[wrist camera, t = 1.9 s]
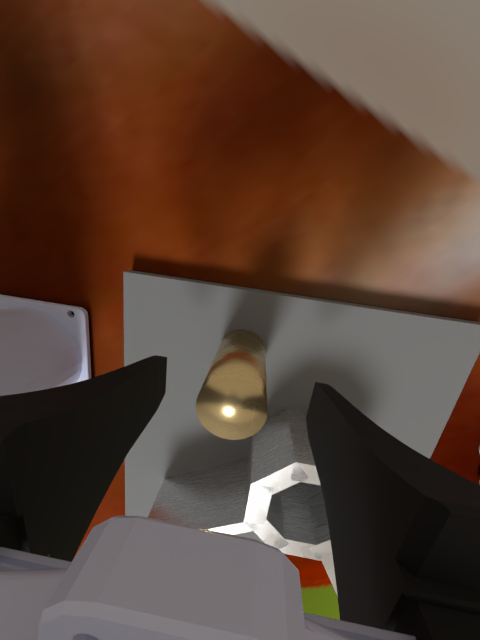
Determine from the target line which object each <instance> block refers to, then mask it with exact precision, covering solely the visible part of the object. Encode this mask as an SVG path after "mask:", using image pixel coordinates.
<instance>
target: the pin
mask: <svg viewBox="0 0 480 640" xmlns="http://www.w3.org/2000/svg"><path fill="white" fill-rule="evenodd" d="M196 413H197V416H198V419H199V421H200V422H201V424H202V425H203V426H204V427H205V428H206V429H207V430H208V431H209V432H211V433H212V434H214V435H216V436H218V437H221V438H224V439H230V440H239V439H245V438H248V437H250V436H252V435H254V434H255V433H257V432H258V431H259V430H260V429H261V428H262V427H263V425H264V424H265V421H266V419H267V413H268V409H267V379H266V350H265V345H264V343H263V341H262V339H261V338H260V337H259V336H258V335H257V334H256V333H254V332H252V331H249V330H244V329H239V330H234V331H232V332H230V333H228V334H227V335H226V336H225V337H224V338H223V340H222V342H221V344H220V346H219V348H218V351H217V353H216V355H215V358H214V360H213V362H212V364H211V367H210V369H209V371H208V374H207V376H206V378H205V380H204V383H203V385H202V387H201V390H200V392H199V394H198V397H197V400H196Z"/></svg>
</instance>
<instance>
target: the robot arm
mask: <svg viewBox="0 0 480 640" xmlns="http://www.w3.org/2000/svg"><path fill="white" fill-rule="evenodd" d="M71 311H73V313H74V316H73V315H72V313H71ZM166 373H167V357H163V356H157V355H154V356H151V357H148V358H145V359H143V360H140V361H138V362H135V363H133V364H130V365H127V366H125V367H122V368H120V369H117V370H114V371H112V372H109V373H106V374H103V375H100V376H97V377H94V378H92V377H91V359H90V340H89V321H88V312H87V311H86V310H85V309H84V308H82V307H77V306H71V305H64V304H58V303H52V302H45V301H39V300H33V299H26V298H20V297H14V296H7V295H1V294H0V640H480V485H478V484H476V483H474V482H472V481H470V480H468V479H466V478H464V477H462V476H460V475H458V474H456V473H454V472H452V471H450V470H448V469H447V468H445V467H443V466H441V465H439V464H437V463H436V462H434V461H432V460H430V459H429V458H427V457H425V456H423V455H422V454H420V453H418V452H417V451H415V450H413V449H412V448H410V447H409V446H407V445H405V444H404V443H402V442H401V441H399V440H398V439H396V438H395V437H393V436H392V435H391V434H389V433H388V432H386V431H385V430H383V429H382V428H381V427H379V426H378V425H377V424H376V423H374V422H373V421H372V420H370V419H369V418H368V417H367V416H365V415H364V414H363V413H362V412H360V411H359V410H358V409H357V408H356V407H355V406H353V405H352V404H351V403H350V402H349V401H348V400H347V399H345V398H344V397H343V396H342V395H341V394H340V393H339V392H337V391H336V390H335V389H334V388H333V387H331V386H330V385H329V384H324V383H318V382H315V385H314V389H313V392H312V396H311V400H310V404H309V408H308V412H307V416H306V424H307V432H308V439H309V443H310V447H311V450H312V454H313V458H314V462H315V466H316V469H317V473H318V477H319V481H320V484H321V488H322V493H323V497H324V503H325V509H326V515H327V521H328V527H329V534H330V541H331V548H332V555H333V562H334V570H335V578H336V586H337V594H338V603H339V612H340V620H337V619H332V618H328V617H323V616H318V615H314V614H309V613H304V612H303V605H302V596H301V586H300V577H299V570H298V569H297V568H296V567H295V566H294V565H293V563H292V562H291V561H290V560H289V559H288V558H287V557H286V556H285V555H284V554H283V553H282V552H281V551H280V550H279V549H278V548H275V547H273V546H270V545H268V544H265V543H263V542H261V541H258V540H256V539H251V538H246V537H241V536H236V535H231V534H226V533H221V532H217V531H212V530H207V529H202V528H197V527H192V526H187V525H182V524H177V523H172V522H167V521H162V520H158V519H153V518H148V517H143V516H115V517H112V518H110V519H108V520H106V521H104V522H102V523H100V524H99V525H97V526H95V527H93V529H92V530H91V532H90V534H89V535H88V537H87V538H86V540H85V542H84V543H83V545H82V547H81V548H80V550H79V552H78V553H77V555H76V556H75V554H76V552H77V549H78V547H79V545H80V543H81V541H82V539H83V537H84V535H85V533H86V531H87V529H88V527H89V525H90V523H91V521H92V519H93V517H94V515H95V513H96V511H97V509H98V507H99V505H100V503H101V501H102V499H103V497H104V495H105V494H106V492H107V490H108V488H109V486H110V484H111V482H112V480H113V479H114V477H115V475H116V473H117V471H118V469H119V468H120V466H121V464H122V462H123V460H124V459H125V457H126V456H127V454H128V452H129V451H130V449H131V448H132V446H133V445H134V444H135V442H136V441H137V439H138V438H139V436H140V435H141V433H142V432H143V430H144V429H145V428H146V426H147V425H148V423H149V422H150V420H151V419H152V417H153V416H154V414H155V413H156V411H157V409H158V407H159V406H160V404H161V402H162V400H163V397H164V395H165V393H166ZM74 556H75V558H74ZM73 558H74V560H73ZM72 560H73V561H72Z"/></svg>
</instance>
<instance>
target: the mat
mask: <svg viewBox="0 0 480 640" xmlns="http://www.w3.org/2000/svg"><path fill="white" fill-rule="evenodd" d="M123 274H124V367H125V366H127V365H130V364H133V363H135V362H138V361H140V360H143V359H145V358H148V357H151V356H154V355H157V356H163V357H167V373H166V393H165V395H164V397H163V400H162V402H161V404H160V406H159V407H158V409H157V411H156V413H155V414H154V416H153V417H152V419H151V420H150V422H149V423H148V425H147V426H146V428H145V429H144V430H143V432H142V433H141V435H140V436H139V438H138V439H137V441H136V442H135V444H134V445H133V446H132V448H131V449H130V451H129V452H128V454H127V456H126V457H125V516H143V517H148V515H149V513H150V511H151V508H152V506H153V504H154V501H155V499H156V497H157V494H158V492H159V490H160V487H161V485H162V482H163V480H164V478H168V477H172V476H176V475H180V474H184V473H188V472H192V471H196V470H200V469H204V468H208V467H212V466H216V465H220V464H224V463H228V462H232V461H236V460H239V459H243V458H247V457H248V455H249V449H250V444H251V438H252V436H250V437H248V438H245V439H239V440H230V439H224V438H221V437H218V436H216V435H214V434H212V433H211V432H209V431H208V430H207V429H206V428H205V427H204V426H203V425H202V424H201V422H200V421H199V419H198V416H197V413H196V400H197V397H198V394H199V392H200V390H201V387H202V385H203V383H204V380H205V378H206V376H207V374H208V371H209V369H210V367H211V364H212V362H213V360H214V358H215V355H216V353H217V351H218V348H219V346H220V344H221V342H222V340H223V338H224V337H225V336H226V335H227V334H228V333H230V332H232V331H234V330H239V329H244V330H249V331H252V332H254V333H256V334H257V335H258V336H259V337H260V338H261V339H262V341H263V343H264V345H265V350H266V379H267V409H268V413H267V418H268V417H270V416H272V415H274V414H275V413H277V412H279V411H281V410H282V409H284V408H286V407H290V408H296V409H302V410H308V408H309V404H310V400H311V396H312V392H313V389H314V385H315V382H318V383H324V384H329V385H330V386H331V387H333V388H334V389H335V390H336V391H337V392H339V393H340V394H341V395H342V396H343V397H344V398H345V399H347V400H348V401H349V402H350V403H351V404H352V405H353V406H355V407H356V408H357V409H358V410H359V411H360V412H362V413H363V414H364V415H365V416H367V417H368V418H369V419H370V420H372V421H373V422H374V423H376V424H377V425H378V426H379V427H381V428H382V429H383V430H385V431H386V432H388V433H389V434H391V435H392V436H393V437H395V438H396V439H398V440H399V441H401V442H402V443H404V444H405V445H407V446H409V447H410V448H412V449H413V450H415V451H417V452H418V453H420V454H422V455H423V456H425V457H427V458H429V459H430V457H431V455H432V453H433V451H434V449H435V447H436V444H437V442H438V440H439V438H440V436H441V434H442V432H443V429H444V427H445V425H446V423H447V421H448V419H449V417H450V414H451V412H452V410H453V408H454V406H455V404H456V402H457V400H458V397H459V395H460V393H461V391H462V389H463V387H464V385H465V382H466V380H467V378H468V376H469V374H470V372H471V370H472V367H473V365H474V363H475V361H476V359H477V357H478V355H479V352H480V323H479V322H475V321H469V320H462V319H455V318H449V317H442V316H435V315H428V314H422V313H415V312H408V311H401V310H395V309H388V308H381V307H375V306H368V305H361V304H354V303H348V302H341V301H334V300H328V299H321V298H314V297H307V296H301V295H294V294H287V293H281V292H274V291H267V290H260V289H254V288H247V287H240V286H234V285H227V284H220V283H213V282H207V281H200V280H193V279H187V278H180V277H173V276H166V275H160V274H153V273H146V272H140V271H133V270H131V271H125V272H123ZM235 535H236V536H241V537H246V538H251V539H256V540H258V541H261V542H263V541H262V540H261V539H260V538H259V537H258V535H257V534H256V533H255V532H254V531H251V532H246V533H241V534H235ZM263 543H264V542H263Z"/></svg>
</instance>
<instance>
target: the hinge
mask: <svg viewBox="0 0 480 640" xmlns="http://www.w3.org/2000/svg"><path fill="white" fill-rule="evenodd" d="M307 412H308V410H302V409H296V408H290V407H286V408H284V409H282V410H281V411H279V412H277V413H275V414H274V415H272V416H270V417H268V418H267V419H266V421H265V424H264V425H263V427H262V428H261V429H260V430H259V431H258V432H257V433H255V434H254V435H252V438H251V444H250V449H249V455H248V457H247V458H243V459H239V460H236V461H232V462H228V463H224V464H220V465H216V466H212V467H208V468H204V469H200V470H196V471H192V472H188V473H184V474H180V475H176V476H172V477H168V478H164V480H163V482H162V485H161V487H160V490H159V492H158V494H157V497H156V499H155V501H154V504H153V506H152V508H151V511H150V513H149V515H148V518H153V519H158V520H162V521H167V522H172V523H177V524H182V525H187V526H192V527H197V528H202V529H207V530H212V531H217V532H221V533H226V534H231V535H235V534H241V533H246V532H251V531H254V532H255V533H256V534H257V535H258V537H259V538H260V539H261V540H262V541H263V542H264V543H265V544H268V545H270V546H273V547H275V548H278V549H279V550H280V551H281V552H282V553H284V554H289V555H294V556H299V557H305V558H310V559H315V560H319V561H322V563H323V565H324V567H325V569H326V572H327V574H328V576H329V578H330V581H331V583H332V585H333V587H334V589H335V592H336V594H337V586H336V578H335V570H334V562H333V555H332V548H331V541H330V534H329V527H328V521H327V515H326V509H325V503H324V497H323V493H322V488H321V484H320V481H319V477H318V473H317V469H316V466H315V462H314V458H313V454H312V450H311V447H310V443H309V439H308V432H307V424H306V416H307ZM337 596H338V594H337Z"/></svg>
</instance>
